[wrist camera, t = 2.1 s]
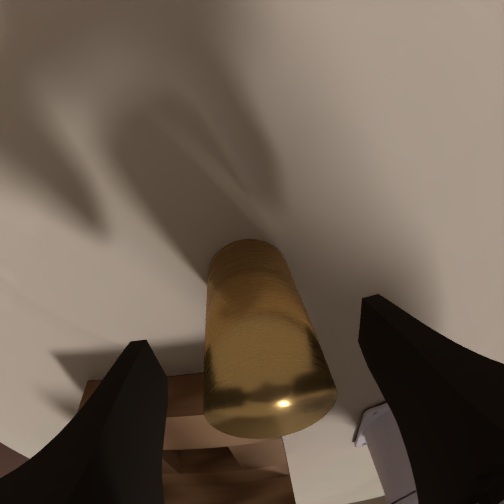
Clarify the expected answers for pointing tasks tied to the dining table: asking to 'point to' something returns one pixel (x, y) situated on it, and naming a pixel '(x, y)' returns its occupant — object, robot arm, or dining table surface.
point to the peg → (260, 347)
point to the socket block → (214, 455)
